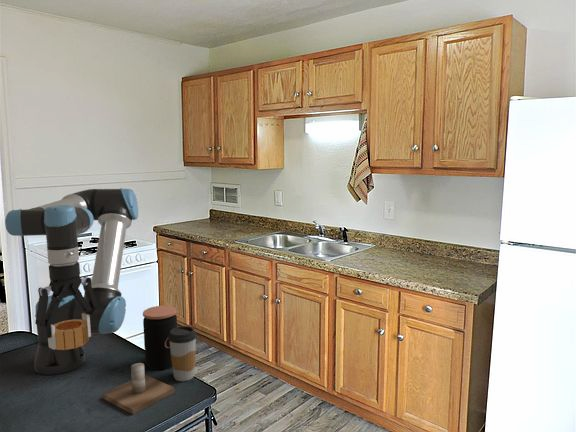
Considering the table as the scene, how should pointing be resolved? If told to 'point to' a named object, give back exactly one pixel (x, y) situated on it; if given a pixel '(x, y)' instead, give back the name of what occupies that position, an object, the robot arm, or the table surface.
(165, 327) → the coffee jar
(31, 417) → the table surface
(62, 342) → the orange ring
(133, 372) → the post block
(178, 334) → the coffee cup
